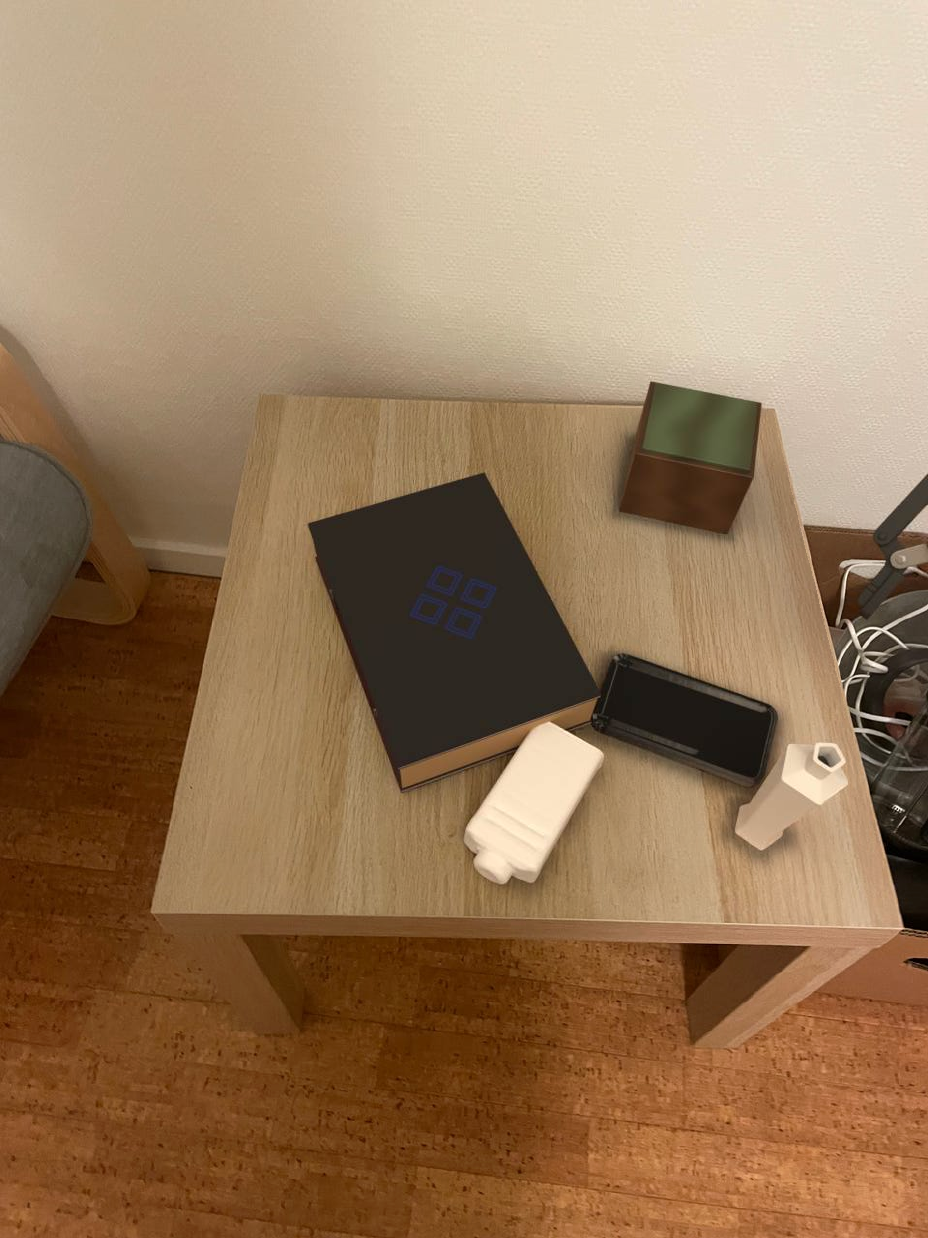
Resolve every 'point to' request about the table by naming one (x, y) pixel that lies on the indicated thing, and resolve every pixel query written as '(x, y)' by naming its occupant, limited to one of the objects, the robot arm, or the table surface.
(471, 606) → the book
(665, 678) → the phone
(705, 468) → the stand
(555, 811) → the white bottle
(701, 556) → the table surface
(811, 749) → the cream faceted bottle shape
